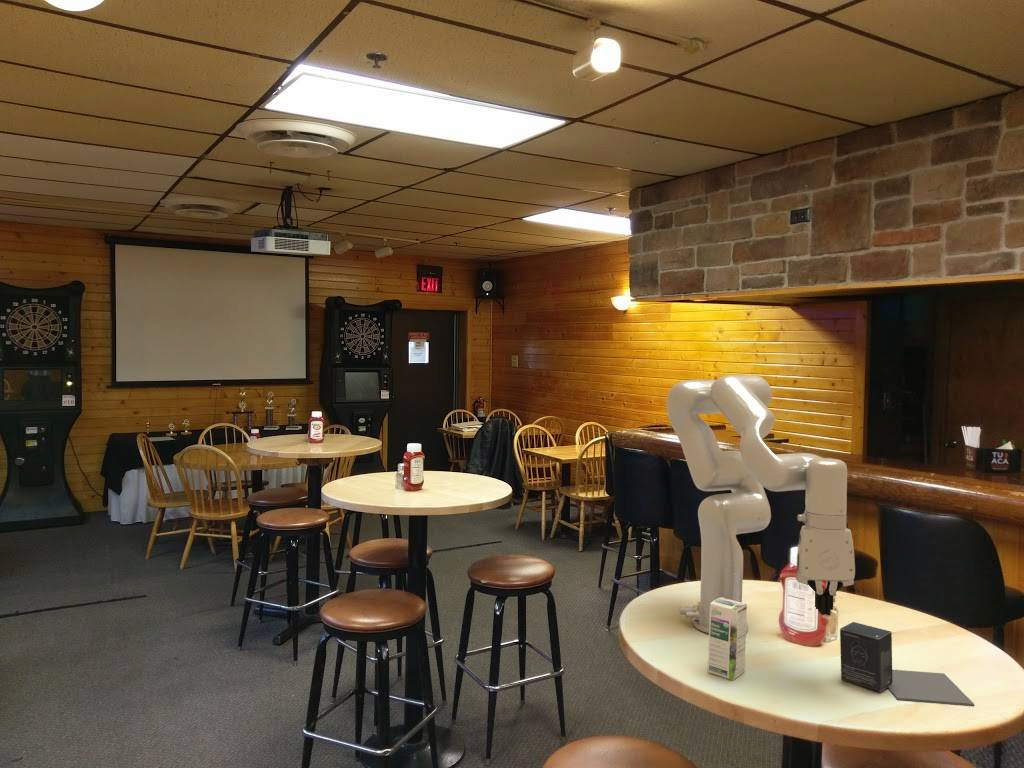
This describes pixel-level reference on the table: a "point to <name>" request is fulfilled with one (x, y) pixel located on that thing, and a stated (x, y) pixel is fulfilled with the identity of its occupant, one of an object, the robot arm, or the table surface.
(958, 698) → the mat
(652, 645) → the table surface
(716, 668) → the syrup box
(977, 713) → the table surface
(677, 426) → the robot arm
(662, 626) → the table surface
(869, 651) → the box
